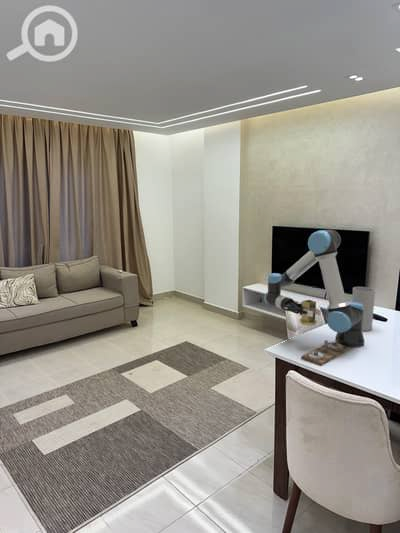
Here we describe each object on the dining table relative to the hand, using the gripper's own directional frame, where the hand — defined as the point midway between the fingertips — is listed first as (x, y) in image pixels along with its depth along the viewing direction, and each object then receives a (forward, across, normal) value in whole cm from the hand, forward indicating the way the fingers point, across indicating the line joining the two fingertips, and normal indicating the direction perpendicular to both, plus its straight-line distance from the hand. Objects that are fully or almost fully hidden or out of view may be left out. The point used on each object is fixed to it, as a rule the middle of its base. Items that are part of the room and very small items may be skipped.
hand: (316, 313), depth 194 cm
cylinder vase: (-10, -52, -20) cm, 57 cm away
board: (+8, 0, -20) cm, 21 cm away
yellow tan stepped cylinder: (-5, 0, -7) cm, 8 cm away
